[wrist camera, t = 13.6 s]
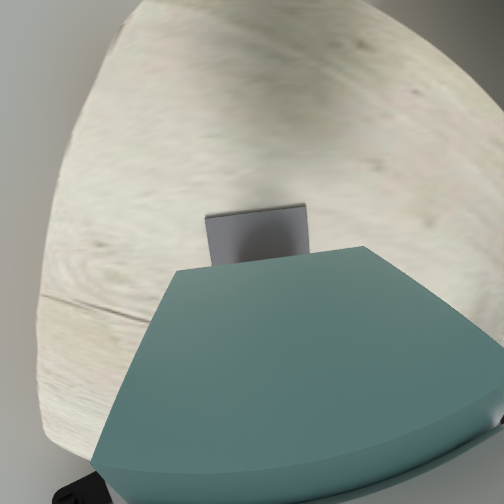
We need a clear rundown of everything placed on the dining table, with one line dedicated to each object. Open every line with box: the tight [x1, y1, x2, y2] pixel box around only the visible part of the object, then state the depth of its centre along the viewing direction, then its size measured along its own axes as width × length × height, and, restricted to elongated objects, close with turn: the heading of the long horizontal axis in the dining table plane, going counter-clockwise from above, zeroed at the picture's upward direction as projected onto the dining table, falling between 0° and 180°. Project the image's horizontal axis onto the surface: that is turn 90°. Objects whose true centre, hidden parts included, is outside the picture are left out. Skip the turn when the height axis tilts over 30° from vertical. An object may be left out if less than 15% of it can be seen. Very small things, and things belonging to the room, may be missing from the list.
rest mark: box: [205, 206, 309, 266], centre depth 24 cm, size 8×8×1 cm
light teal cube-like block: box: [90, 246, 504, 504], centre depth 8 cm, size 8×8×9 cm
